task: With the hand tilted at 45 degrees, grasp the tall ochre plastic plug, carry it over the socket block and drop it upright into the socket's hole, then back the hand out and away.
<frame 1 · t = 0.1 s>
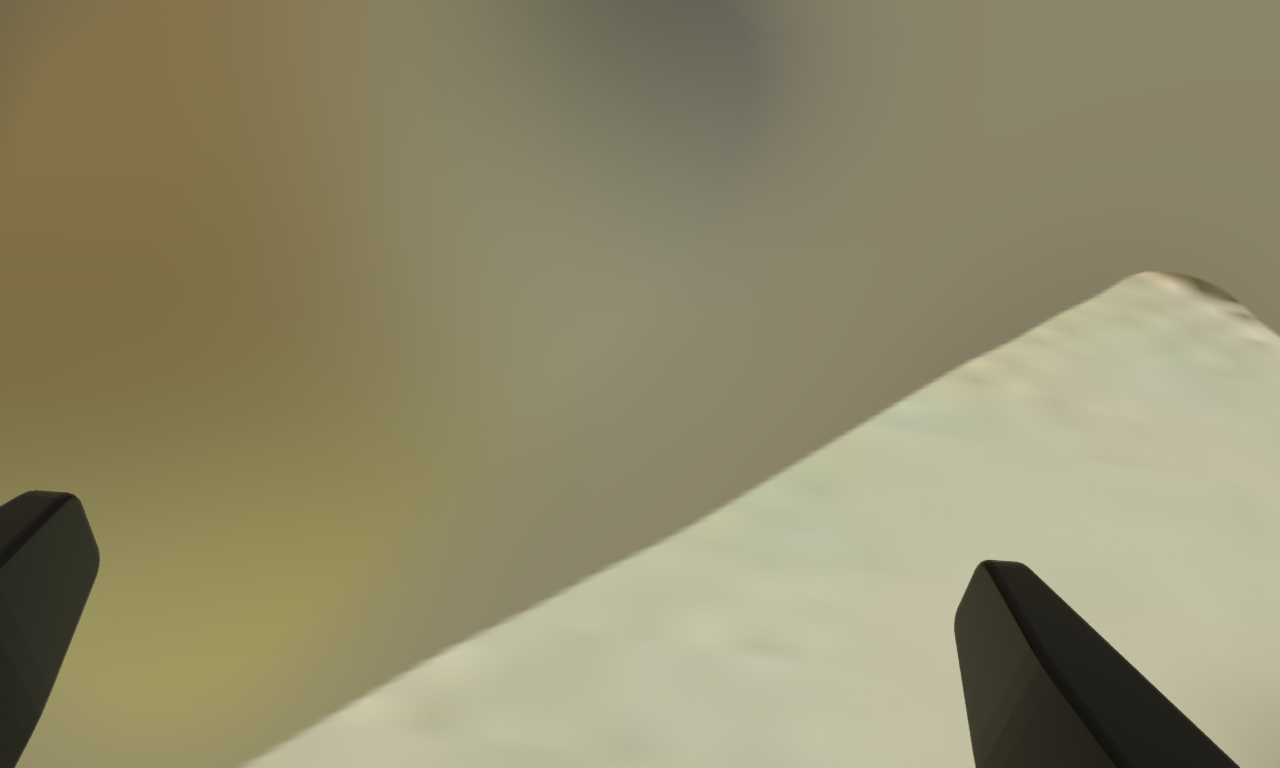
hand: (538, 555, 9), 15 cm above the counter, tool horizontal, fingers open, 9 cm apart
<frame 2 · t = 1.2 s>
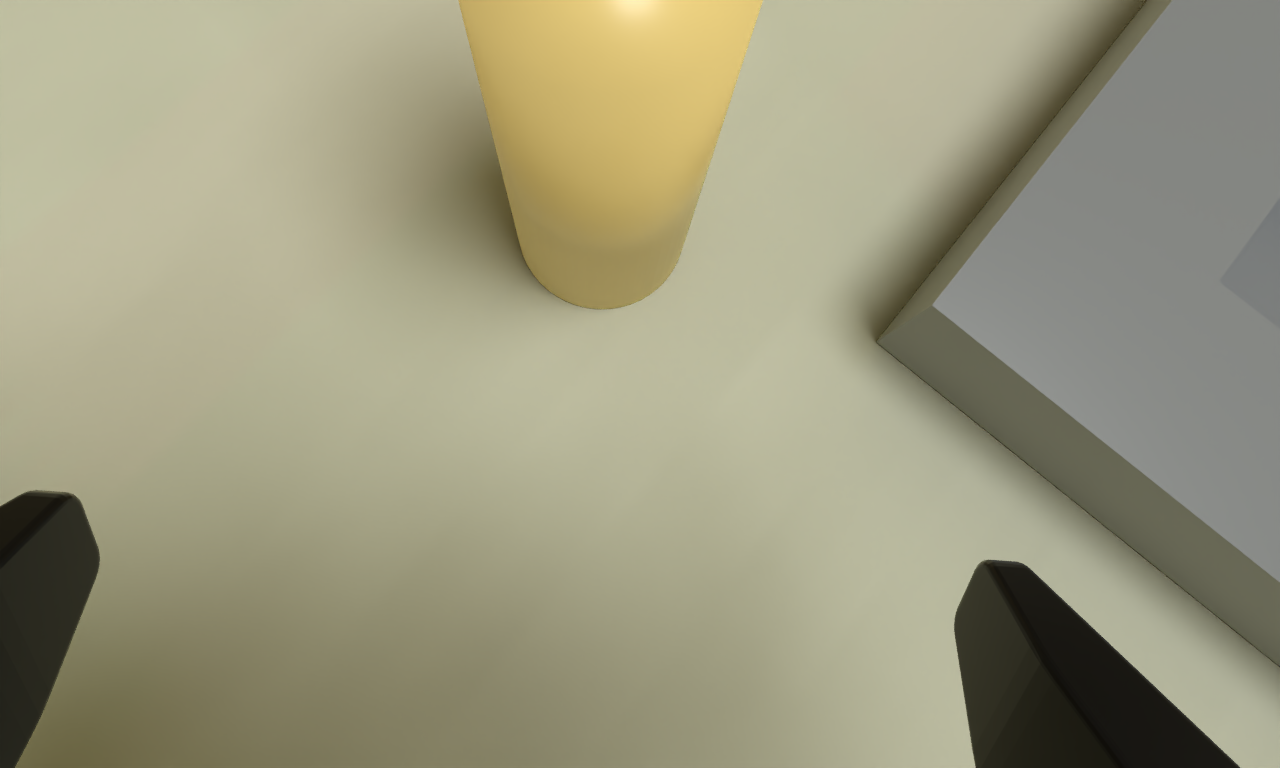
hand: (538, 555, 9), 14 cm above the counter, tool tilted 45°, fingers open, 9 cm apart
plug: (601, 228, 24), on the counter
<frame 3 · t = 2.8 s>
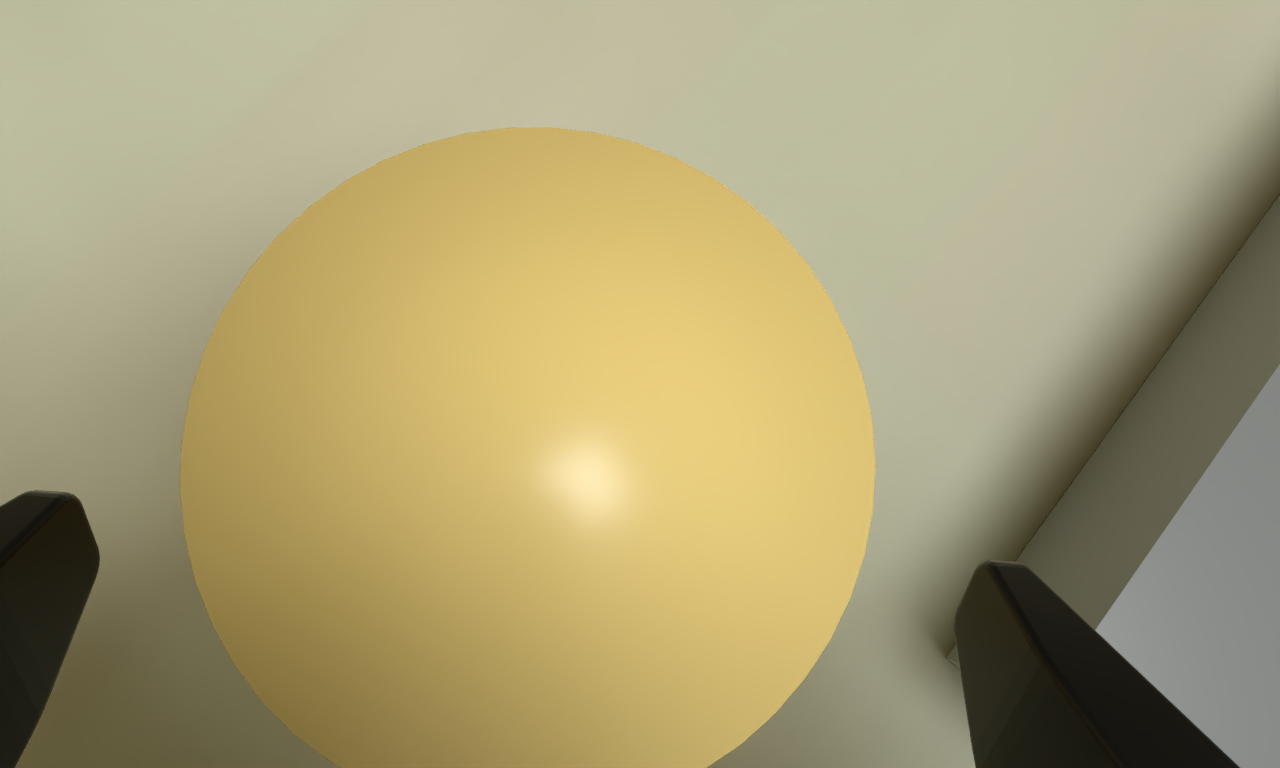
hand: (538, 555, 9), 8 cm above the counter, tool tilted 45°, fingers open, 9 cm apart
plug: (570, 502, 18), on the counter
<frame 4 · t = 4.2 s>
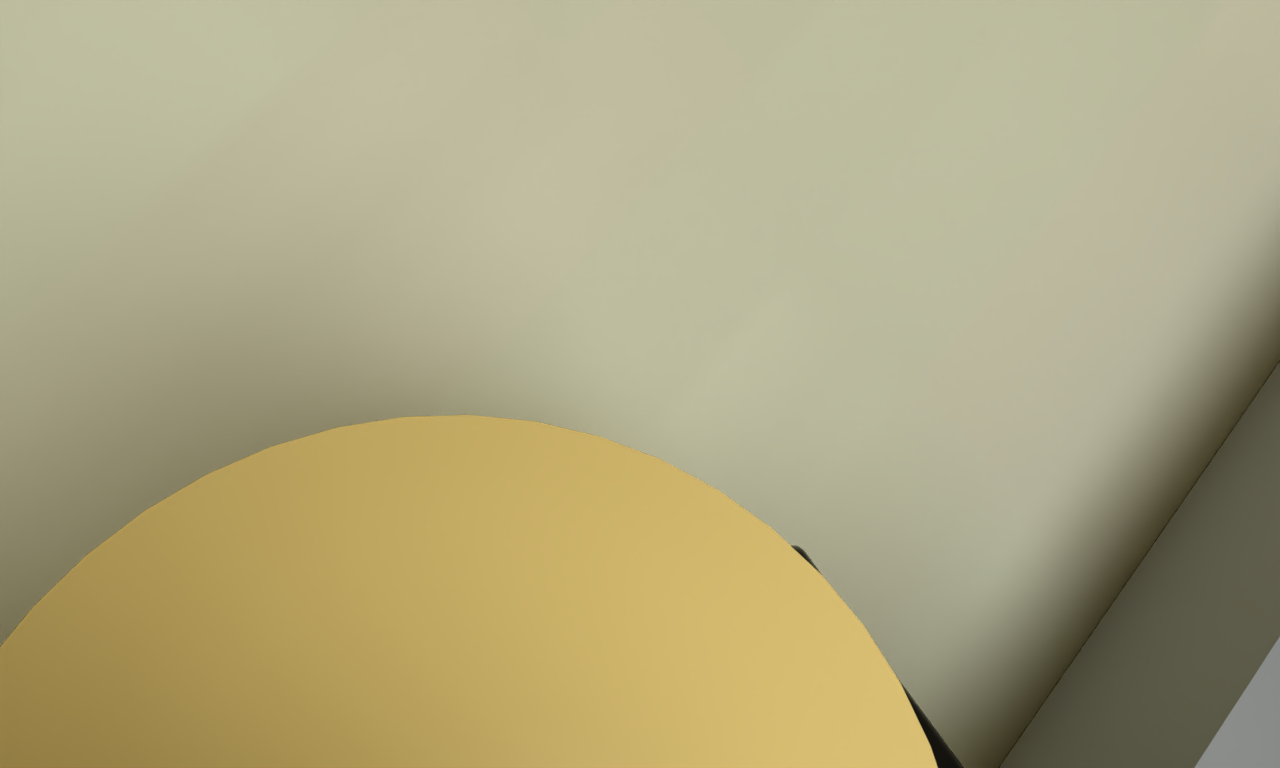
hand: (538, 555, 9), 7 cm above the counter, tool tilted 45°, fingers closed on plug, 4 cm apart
plug: (550, 623, 16), on the counter, touching gripper
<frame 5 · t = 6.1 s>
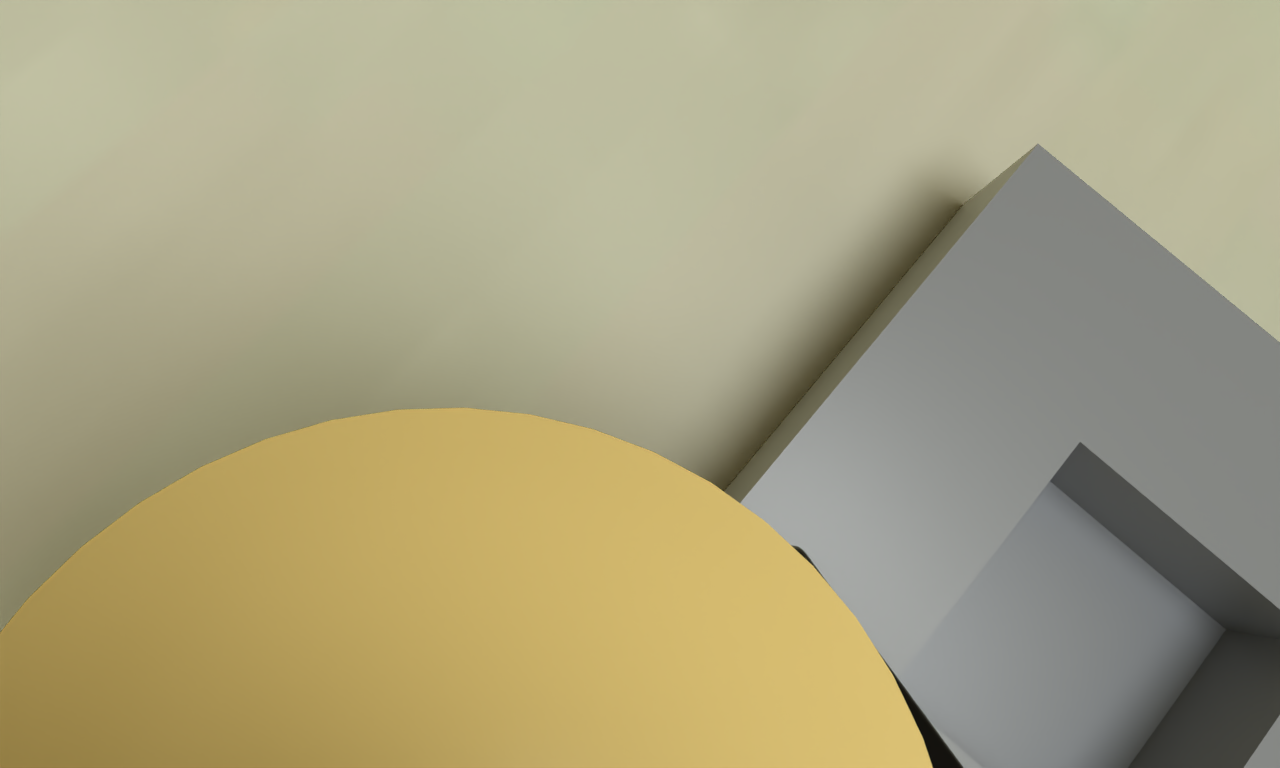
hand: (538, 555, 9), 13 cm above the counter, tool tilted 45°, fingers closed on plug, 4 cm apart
socket block: (1020, 640, 23), on the counter
plug: (548, 621, 16), point 7 cm above the counter, touching gripper
when the fingers open (9 cm above the counter, at t = 8.4 s): plug stays where it is, resting on socket block.
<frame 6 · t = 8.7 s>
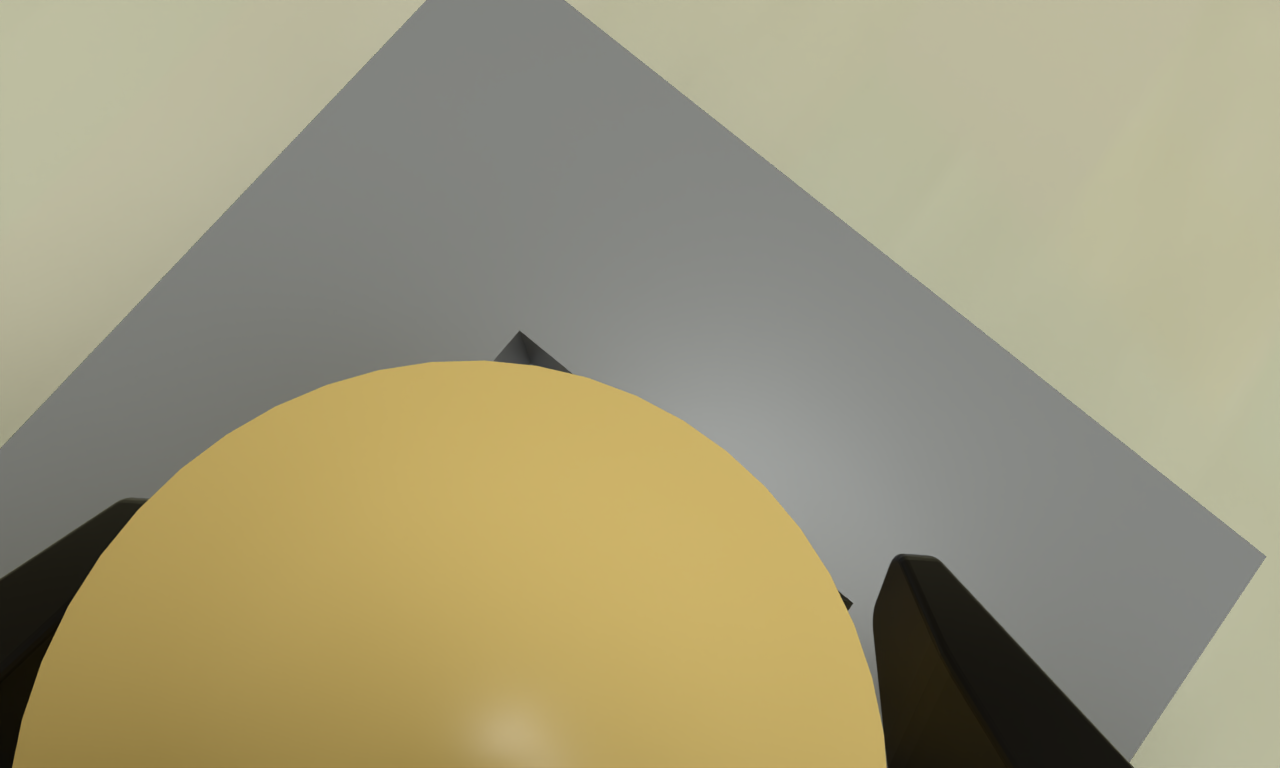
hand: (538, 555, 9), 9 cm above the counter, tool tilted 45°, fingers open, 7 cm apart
socket block: (555, 611, 17), on the counter
plug: (551, 617, 16), point 1 cm above the counter, touching socket block
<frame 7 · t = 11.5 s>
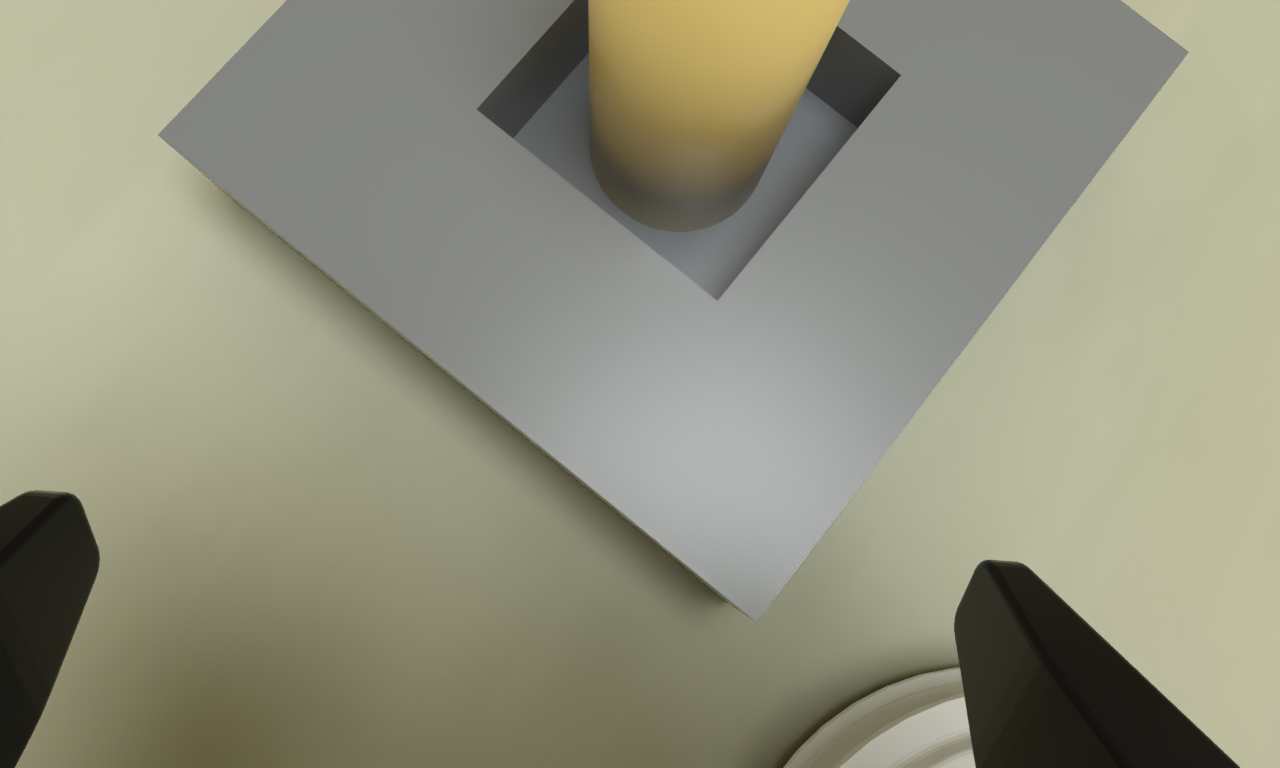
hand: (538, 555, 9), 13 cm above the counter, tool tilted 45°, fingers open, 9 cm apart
socket block: (675, 161, 24), on the counter
plug: (678, 146, 23), point 1 cm above the counter, touching socket block
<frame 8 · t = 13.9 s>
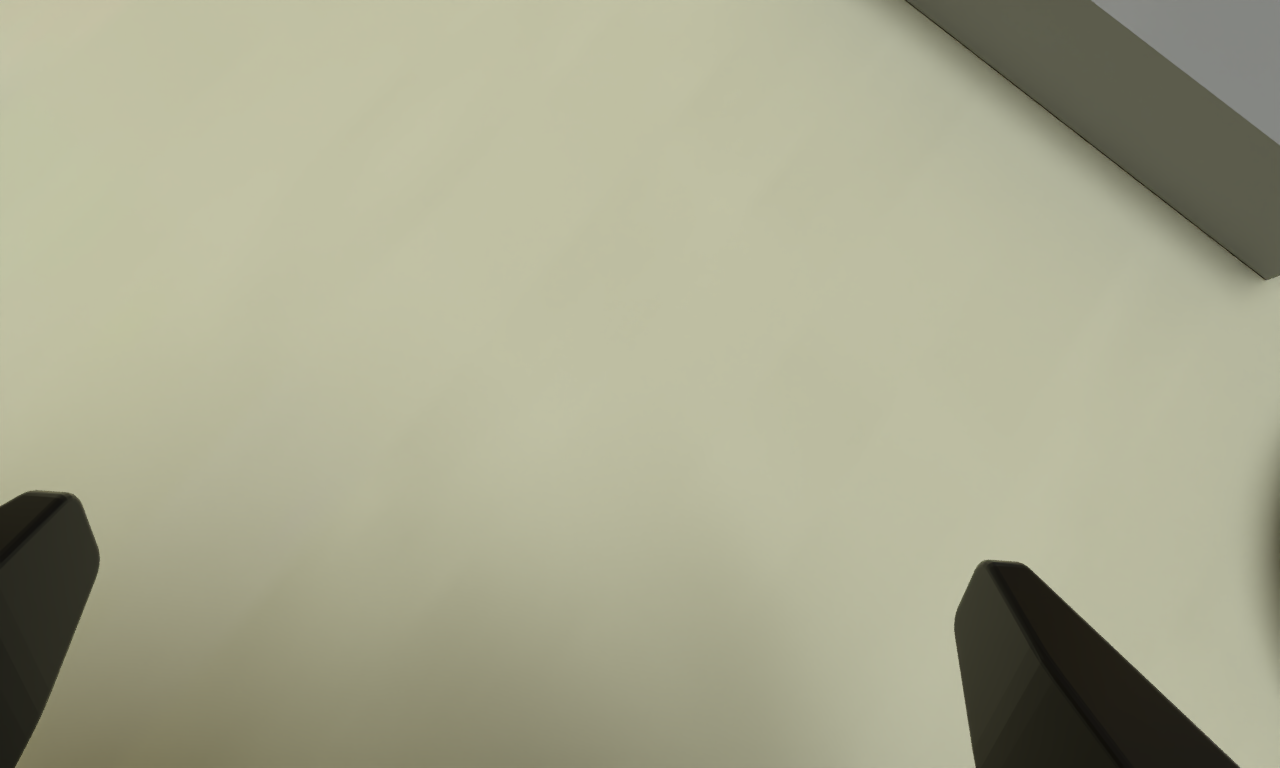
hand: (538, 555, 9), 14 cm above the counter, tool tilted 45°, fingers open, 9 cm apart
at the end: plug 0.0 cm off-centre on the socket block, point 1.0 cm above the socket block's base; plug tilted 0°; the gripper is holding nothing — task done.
